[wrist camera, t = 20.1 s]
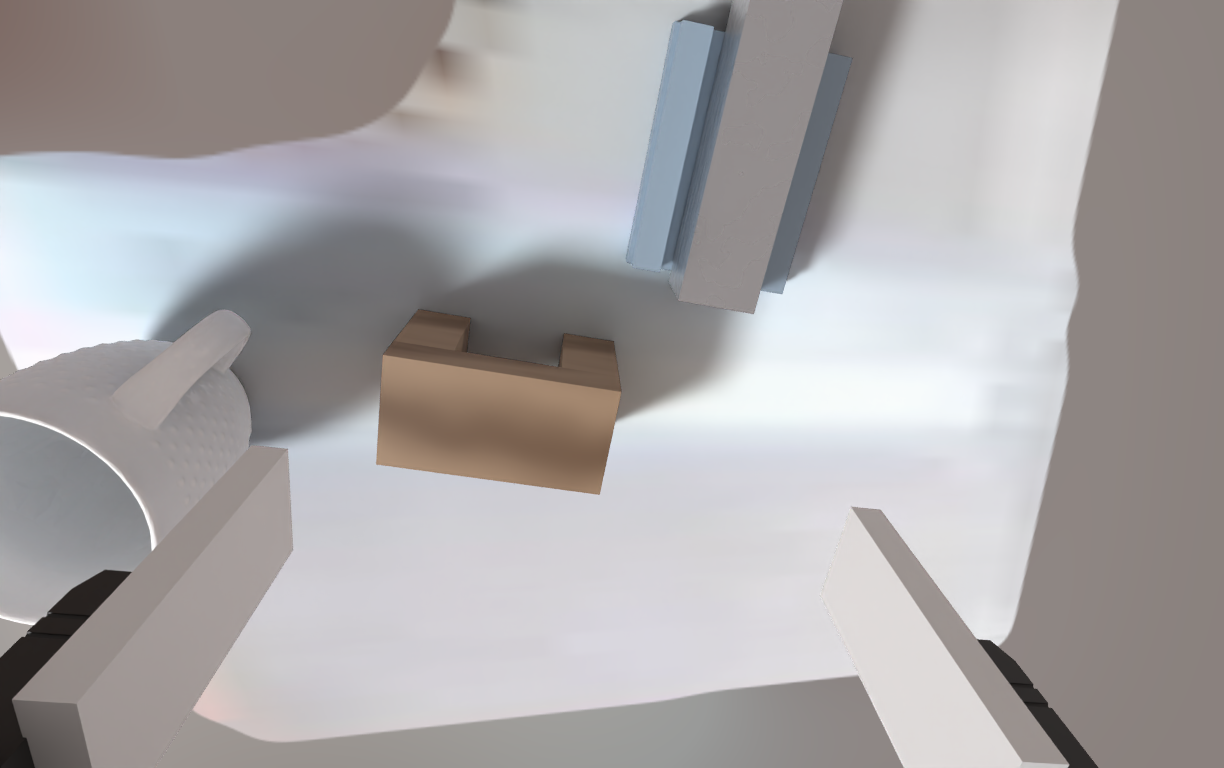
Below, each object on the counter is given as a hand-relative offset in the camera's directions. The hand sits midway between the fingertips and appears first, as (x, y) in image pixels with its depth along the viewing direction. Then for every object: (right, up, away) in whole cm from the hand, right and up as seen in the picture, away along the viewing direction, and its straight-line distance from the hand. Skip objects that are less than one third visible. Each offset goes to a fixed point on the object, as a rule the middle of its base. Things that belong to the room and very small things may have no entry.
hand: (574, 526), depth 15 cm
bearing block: (-5, +4, +24) cm, 25 cm away
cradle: (+7, +15, +20) cm, 26 cm away
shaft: (+7, +16, +19) cm, 25 cm away
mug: (-24, +3, +24) cm, 34 cm away
